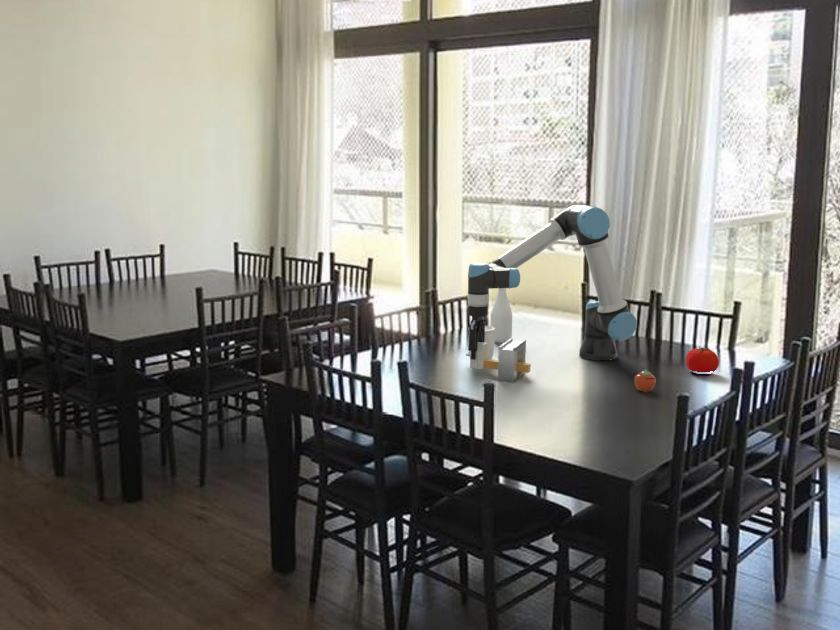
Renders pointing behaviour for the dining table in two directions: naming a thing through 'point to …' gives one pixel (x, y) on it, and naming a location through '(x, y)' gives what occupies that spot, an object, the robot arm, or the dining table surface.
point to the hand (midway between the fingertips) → (476, 365)
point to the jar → (488, 340)
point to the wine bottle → (501, 317)
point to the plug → (493, 364)
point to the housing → (510, 360)
